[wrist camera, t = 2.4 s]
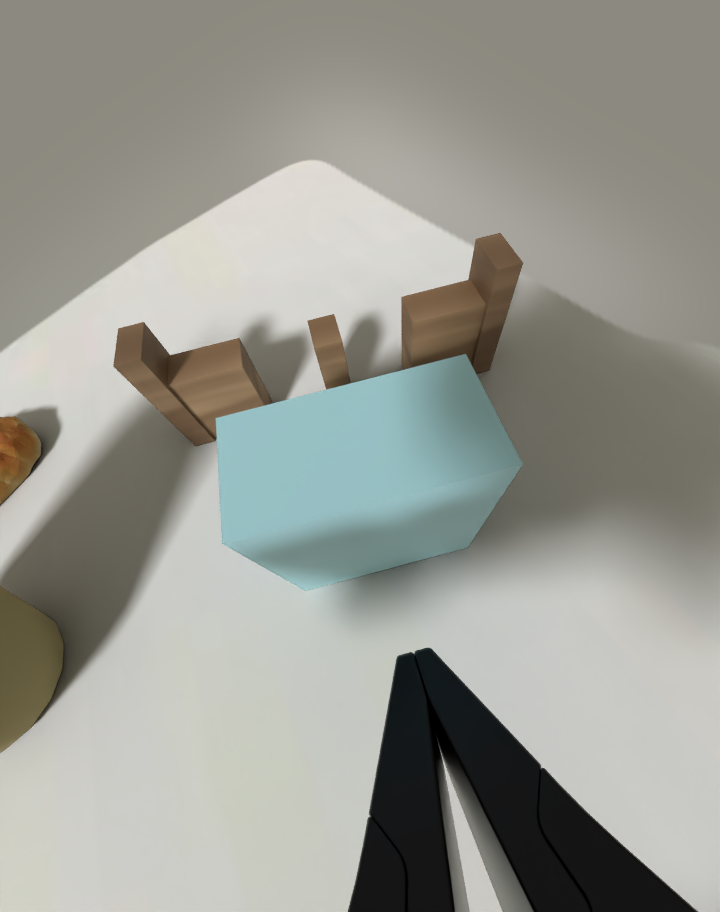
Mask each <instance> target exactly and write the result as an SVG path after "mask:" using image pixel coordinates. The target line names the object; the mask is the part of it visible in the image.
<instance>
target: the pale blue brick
mask: <svg viewBox="0 0 720 912" xmlns="http://www.w3.org/2000/svg"><path fill="white" fill-rule="evenodd" d="M216 434H217V453H218V472H219V492H220V511H221V530H222V544H224V545H225V546H227V547H229V548H231V549H232V550H234V551H236V552H238V553H240V554H241V555H243V556H245V557H247V558H248V559H250V560H252V561H254V562H255V563H257V564H259V565H261V566H262V567H264V568H266V569H268V570H269V571H271V572H273V573H275V574H276V575H278V576H280V577H282V578H283V579H285V580H287V581H289V582H291V583H292V584H294V585H296V586H298V587H299V588H301V589H303V590H305V591H308V590H311V589H315V588H319V587H323V586H326V585H330V584H334V583H338V582H341V581H345V580H349V579H352V578H356V577H360V576H364V575H367V574H371V573H375V572H378V571H382V570H386V569H390V568H393V567H397V566H401V565H405V564H408V563H412V562H416V561H419V560H423V559H427V558H431V557H434V556H438V555H442V554H445V553H449V552H453V551H457V550H460V549H464V548H468V546H469V545H470V543H471V542H472V540H473V539H474V537H475V536H476V534H477V533H478V531H479V530H480V528H481V527H482V525H483V524H484V522H485V521H486V519H487V518H488V516H489V515H490V513H491V512H492V510H493V509H494V507H495V506H496V504H497V503H498V501H499V500H500V498H501V497H502V495H503V494H504V492H505V491H506V489H507V488H508V486H509V485H510V483H511V482H512V480H513V479H514V477H515V476H516V474H517V473H518V471H519V470H520V468H521V467H522V465H523V463H522V461H521V459H520V457H519V455H518V453H517V451H516V449H515V447H514V445H513V444H512V442H511V440H510V438H509V436H508V434H507V432H506V430H505V428H504V426H503V424H502V422H501V420H500V419H499V417H498V415H497V413H496V411H495V409H494V407H493V405H492V403H491V401H490V399H489V397H488V396H487V394H486V392H485V390H484V388H483V386H482V384H481V382H480V380H479V378H478V376H477V374H476V372H475V371H474V369H473V367H472V365H471V363H470V361H469V359H468V357H467V355H466V354H463V355H459V356H456V357H452V358H448V359H444V360H440V361H436V362H432V363H428V364H424V365H421V366H417V367H413V368H409V369H405V370H401V371H397V372H393V373H389V374H386V375H382V376H378V377H374V378H370V379H366V380H362V381H358V382H354V383H351V384H347V385H343V386H339V387H335V388H331V389H327V390H323V391H319V392H316V393H312V394H308V395H304V396H300V397H296V398H292V399H288V400H284V401H281V402H277V403H273V404H269V405H265V406H261V407H257V408H253V409H249V410H246V411H242V412H238V413H234V414H230V415H226V416H222V417H218V418H216Z"/></svg>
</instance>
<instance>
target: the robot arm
mask: <svg viewBox="0 0 720 912" xmlns="http://www.w3.org/2000/svg"><path fill="white" fill-rule="evenodd" d="M414 655H415V656H414ZM438 743H439V744H438ZM439 747H440V748H439ZM440 750H441V752H440ZM441 753H442V756H441ZM442 757H443V760H444V762H445V765H446V768H447V771H448V773H449V776H450V778H451V781H452V783H453V786H454V788H455V791H456V793H457V796H458V799H459V801H460V804H461V806H462V809H463V811H464V814H465V816H466V819H467V822H468V824H469V827H470V829H471V832H472V834H473V837H474V839H475V842H476V845H477V847H478V850H479V852H480V855H481V857H482V860H483V862H484V865H485V867H486V870H487V873H488V875H489V878H490V880H491V883H492V885H493V888H494V890H495V893H496V896H497V898H498V901H499V903H500V906H501V908H502V911H503V912H698V911H696V910H695V909H694V908H693V907H692V906H691V905H690V904H689V903H687V902H686V901H685V900H684V899H683V898H682V897H681V896H680V895H678V894H677V893H676V892H675V891H674V890H673V889H672V888H671V887H669V886H668V885H667V884H666V883H665V882H664V881H663V880H662V879H660V878H659V877H658V876H657V875H656V874H655V873H654V872H653V871H651V870H650V869H649V868H648V867H647V866H646V865H645V864H644V863H642V862H641V861H640V860H639V859H638V858H637V857H636V856H634V855H633V854H632V853H631V852H630V851H629V850H628V849H627V848H625V847H624V846H623V845H622V844H621V843H620V842H619V841H618V840H617V839H616V838H614V837H613V836H612V835H611V834H610V833H609V832H608V831H607V830H606V829H605V828H604V827H603V826H601V825H600V824H599V823H598V822H597V821H596V820H595V819H594V818H593V817H592V816H591V815H590V814H588V813H587V812H586V811H585V810H584V809H583V808H582V807H581V806H580V805H579V804H578V803H577V802H576V800H575V799H574V798H573V797H572V796H571V795H570V794H569V793H568V792H567V791H566V790H565V789H564V788H563V787H562V786H561V785H560V784H559V783H558V782H557V781H556V780H555V779H554V778H553V777H552V776H551V775H550V774H549V773H548V772H547V770H546V769H544V768H541V765H540V763H539V762H538V761H537V760H536V759H535V758H534V757H533V756H532V755H531V754H530V753H529V752H528V751H527V750H526V748H525V747H524V746H523V745H522V744H521V743H520V742H519V741H518V740H517V739H516V738H515V737H514V736H513V735H512V734H511V733H510V732H509V730H508V729H507V728H506V727H505V726H504V725H503V724H502V723H501V722H500V721H499V720H498V719H497V718H496V717H495V716H494V715H493V714H492V712H491V711H490V710H489V709H488V708H487V707H486V706H485V705H484V704H483V703H482V702H481V701H480V700H479V699H478V698H477V697H476V695H475V694H474V693H473V692H472V691H471V690H470V689H469V688H468V687H467V686H466V685H465V684H464V683H463V682H462V681H461V680H460V679H459V677H458V676H457V675H456V674H455V673H454V672H453V671H452V670H451V669H450V668H449V667H448V666H447V665H446V664H445V663H444V662H443V661H442V659H441V658H440V657H439V656H438V655H437V654H436V653H435V652H434V651H433V650H432V649H431V648H424V649H421V650H417V651H415V653H414V654H413V653H412V652H410V653H406V654H403V655H399V656H398V657H397V659H396V665H395V670H394V676H393V682H392V687H391V693H390V698H389V704H388V710H387V715H386V721H385V726H384V732H383V737H382V743H381V749H380V754H379V760H378V765H377V771H376V777H375V782H374V788H373V793H372V799H371V805H370V810H369V815H370V817H369V818H368V820H367V826H366V831H365V837H364V842H363V847H362V852H361V857H360V862H359V867H358V872H357V877H356V881H355V885H354V889H353V893H352V897H351V901H350V905H349V909H348V912H470V911H469V906H468V900H467V894H466V889H465V883H464V877H463V872H462V866H461V860H460V855H459V849H458V843H457V838H456V832H455V826H454V821H453V815H452V809H451V804H450V798H449V793H448V787H447V781H446V776H445V770H444V765H443V760H442Z"/></svg>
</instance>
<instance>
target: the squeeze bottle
mask: <svg viewBox="0 0 720 912" xmlns="http://www.w3.org/2000/svg"><path fill="white" fill-rule="evenodd" d="M63 647H64V642H63V639H62V637H61V634H60V632H59V629H58V626H57V624H56V622H55V621H53V620H52V619H50V618H49V617H48V616H46V615H45V614H43V613H42V612H41V611H39V610H37V609H36V608H34V607H33V606H31V605H29V604H28V603H26V602H24V601H23V600H21V599H20V598H18V597H16V596H15V595H13V594H11V593H10V592H8V591H7V590H5V589H3V588H2V587H0V753H1V752H3V751H4V750H5V749H7V748H8V747H9V746H10V745H11V744H12V743H14V742H15V741H16V740H17V739H18V738H20V737H21V736H22V735H23V734H24V733H26V732H27V731H28V730H29V729H30V728H31V727H32V726H33V724H34V723H35V721H36V720H37V718H38V717H39V716H40V714H41V713H42V711H43V710H44V709H45V707H46V706H47V704H48V703H49V701H50V700H51V698H52V695H53V693H54V690H55V687H56V685H57V682H58V679H59V677H60V674H61V671H62V666H63Z"/></svg>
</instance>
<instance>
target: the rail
mask: <svg viewBox="0 0 720 912" xmlns="http://www.w3.org/2000/svg"><path fill="white" fill-rule="evenodd" d="M522 265H523V262H522V261H521V260H520V258H519V257H518V256H517V254H516V253H515V252H514V250H513V249H512V248H511V246H510V245H509V244H508V242H507V241H506V240H505V239H504V237H503V236H502V234H501V233H498V234H494V235H490V236H486V237H482V238H478V239H476V241H475V247H474V252H473V258H472V264H471V269H470V275H469V280H467V281H463V282H459V283H455V284H451V285H447V286H443V287H439V288H435V289H431V290H427V291H423V292H419V293H415V294H411V295H407V296H404V297H402V366H403V368H404V370H405V369H409V368H413V367H417V366H421V365H424V364H428V363H432V362H436V361H440V360H444V359H448V358H452V357H456V356H459V355H463V354H466V355H467V357H468V359H469V361H470V363H471V365H472V367H473V369H474V371H475V372H476V373H480V372H484V371H488V370H490V366H491V363H492V360H493V357H494V354H495V350H496V347H497V344H498V341H499V338H500V335H501V331H502V328H503V325H504V322H505V319H506V316H507V312H508V309H509V306H510V303H511V300H512V297H513V293H514V290H515V287H516V284H517V281H518V277H519V274H520V271H521V268H522ZM308 325H309V329H310V333H311V337H312V341H313V345H314V349H315V353H316V356H317V359H318V363H319V366H320V370H321V373H322V376H323V380H324V383H325V386H326V390H327V389H331V388H335V387H339V386H343V385H347V384H350V379H349V374H348V369H347V364H346V359H345V353H344V348H343V343H342V339H341V336H340V333H339V329H338V326H337V323H336V319H335V316H334V314H332V315H328V316H324V317H320V318H317V319H313V320H309V321H308ZM114 367H115V368H116V369H117V370H118V371H119V372H120V373H121V374H122V375H123V376H124V377H125V378H126V379H127V380H128V381H129V382H130V383H131V384H132V385H133V386H134V387H135V388H136V389H137V390H138V391H139V392H140V393H141V394H142V395H143V396H144V397H145V398H147V399H148V400H149V401H150V402H151V403H152V404H153V405H154V406H155V407H156V408H157V409H158V410H159V411H160V412H161V413H162V414H163V415H164V416H165V417H166V418H167V419H168V420H169V421H170V422H171V423H172V424H173V425H174V426H175V427H176V428H177V429H178V430H180V431H181V432H182V433H183V434H184V435H185V436H186V437H187V438H188V439H189V440H190V441H191V442H192V443H193V444H194V445H195V446H198V445H202V444H206V443H209V442H213V441H215V438H217V434H216V418H218V417H222V416H226V415H230V414H234V413H238V412H242V411H246V410H249V409H253V408H257V407H261V406H265V405H269V404H272V403H271V397H270V395H269V393H268V392H267V390H266V388H265V386H264V384H263V382H262V380H261V378H260V376H259V375H258V373H257V371H256V369H255V367H254V365H253V363H252V361H251V359H250V358H249V356H248V354H247V352H246V350H245V348H244V346H243V344H242V342H241V340H240V339H239V338H237V339H233V340H229V341H226V342H222V343H218V344H214V345H210V346H206V347H202V348H198V349H194V350H190V351H186V352H182V353H178V354H174V355H170V354H169V353H168V352H167V351H166V349H165V348H164V347H163V346H162V344H161V343H160V342H159V341H158V339H157V338H156V337H155V336H154V334H153V333H152V332H151V331H150V329H149V328H148V327H147V326H146V324H145V323H144V322H142V323H139V324H135V325H131V326H127V327H123V328H119V329H118V335H117V343H116V351H115V358H114Z"/></svg>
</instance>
